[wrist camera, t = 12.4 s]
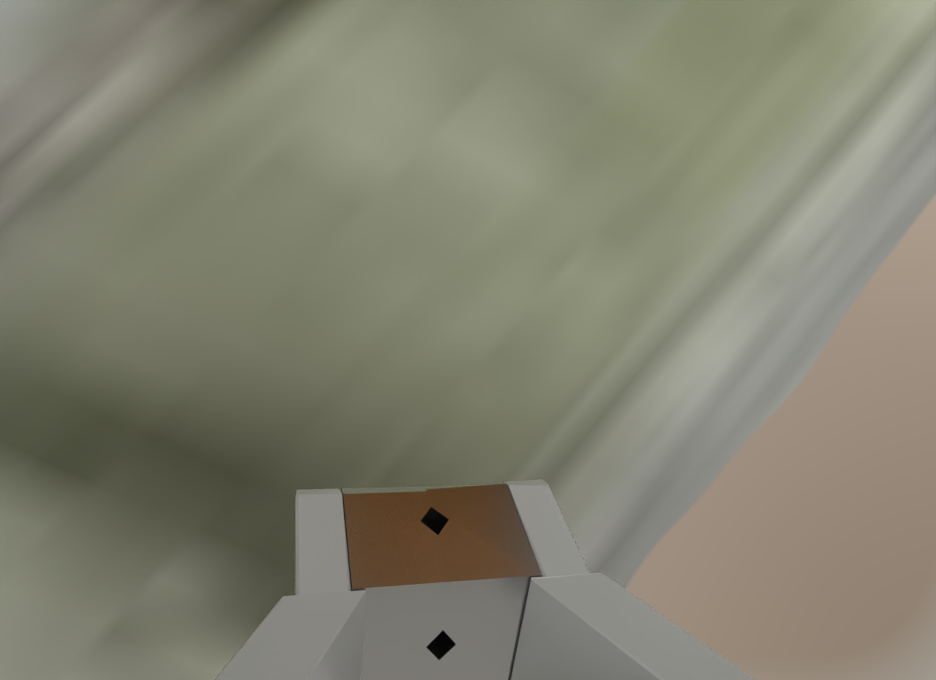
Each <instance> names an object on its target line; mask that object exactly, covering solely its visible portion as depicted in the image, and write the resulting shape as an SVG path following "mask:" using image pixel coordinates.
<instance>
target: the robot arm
mask: <svg viewBox="0 0 936 680" xmlns="http://www.w3.org/2000/svg"><path fill="white" fill-rule="evenodd" d="M215 680H756V679H754V678H753V677H751V676H750V675H748V674H747V673H745V672H744V671H743V670H741V669H740V668H738V667H737V666H735V665H734V664H733V663H731V662H729V661H728V660H727V659H725V658H724V657H722V656H721V655H720V654H718V653H717V652H715V651H714V650H712V649H711V648H710V647H708V646H706V645H705V644H704V643H702V642H700V641H699V640H698V639H696V638H695V637H694V636H692V635H691V634H689V633H688V632H686V631H685V630H683V629H682V628H681V627H679V626H678V625H676V624H675V623H674V622H672V621H671V620H669V619H668V618H666V617H665V616H663V615H662V614H661V613H659V612H658V611H656V610H655V609H653V608H652V607H650V606H649V605H648V604H646V603H645V602H643V601H642V600H640V599H639V598H638V597H636V596H634V595H633V594H632V593H630V592H629V591H627V590H626V589H625V588H623V587H622V586H620V585H619V584H617V583H616V582H614V581H613V580H612V579H610V578H609V577H607V576H606V575H604V574H603V573H590V572H589V570H588V568H587V566H586V564H585V561H584V559H583V557H582V555H581V553H580V551H579V549H578V547H577V544H576V542H575V540H574V538H573V536H572V534H571V532H570V530H569V527H568V525H567V523H566V521H565V519H564V517H563V515H562V513H561V510H560V508H559V506H558V504H557V502H556V500H555V498H554V496H553V493H552V491H551V489H550V487H549V485H548V483H546V482H545V481H544V480H542V479H535V480H520V481H506V482H503V483H488V484H468V485H448V486H428V487H425V486H416V487H368V488H341V491H340V490H339V489H308V490H297V492H296V498H295V595H293V596H283V597H282V598H281V599H280V600H279V601H278V603H277V604H276V605H275V606H274V608H273V609H272V610H271V611H270V612H269V614H268V615H267V616H266V617H265V619H264V620H263V621H262V622H261V624H260V625H259V626H258V627H257V628H256V630H255V631H254V632H253V633H252V635H251V636H250V637H249V638H248V640H247V641H246V642H245V643H244V644H243V646H242V647H241V648H240V649H239V651H238V652H237V653H236V654H235V656H234V657H233V658H232V659H231V660H230V662H229V663H228V664H227V665H226V667H225V668H224V669H223V670H222V672H221V673H220V674H219V675H218V676H217V678H216V679H215Z"/></svg>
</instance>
